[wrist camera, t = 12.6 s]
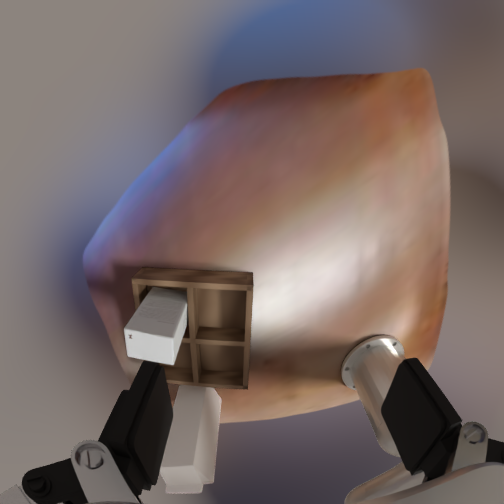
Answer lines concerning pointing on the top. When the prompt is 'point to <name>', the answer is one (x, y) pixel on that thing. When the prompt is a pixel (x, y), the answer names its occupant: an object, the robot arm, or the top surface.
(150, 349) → the skincare box
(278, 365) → the top surface
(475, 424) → the robot arm
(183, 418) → the milk
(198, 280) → the walnut caddy
